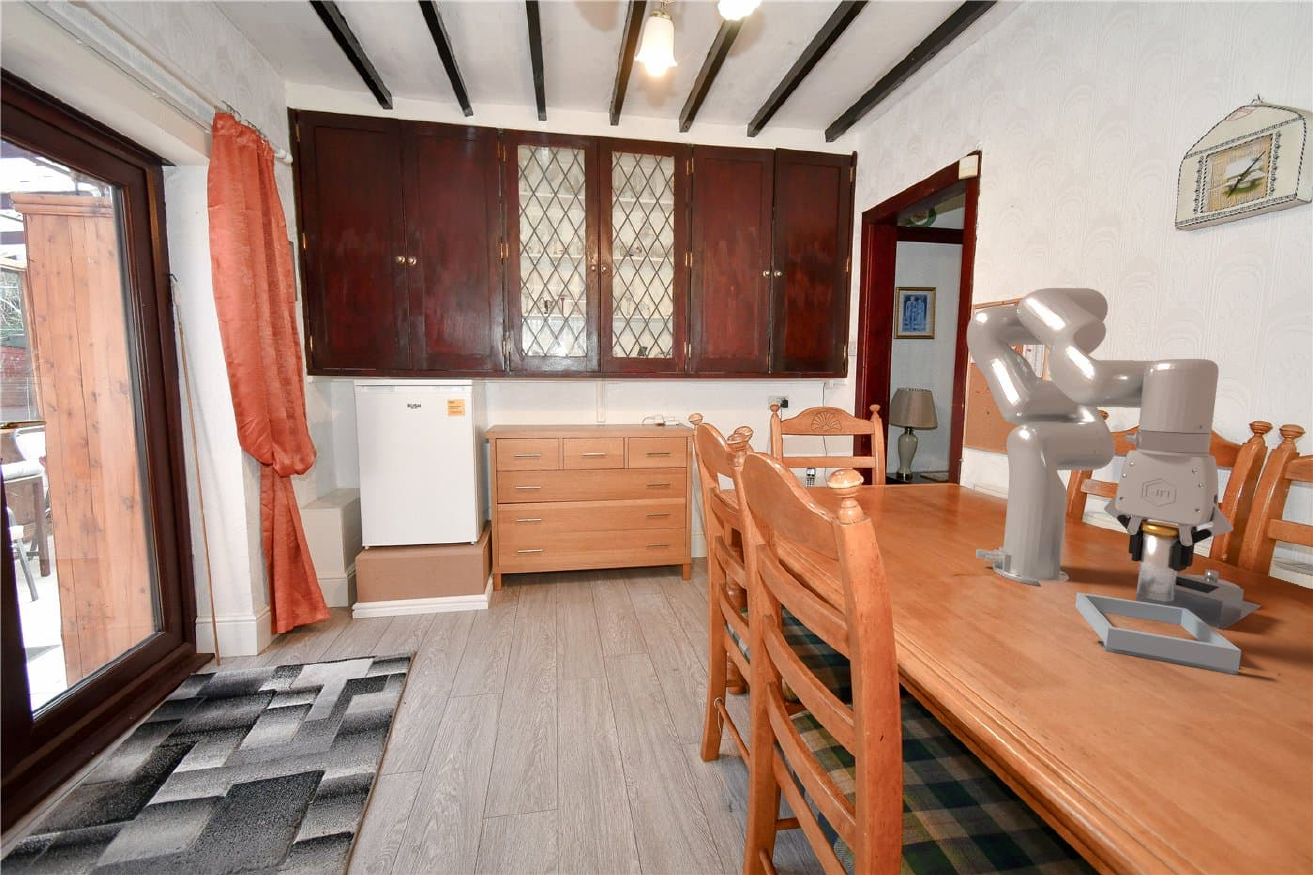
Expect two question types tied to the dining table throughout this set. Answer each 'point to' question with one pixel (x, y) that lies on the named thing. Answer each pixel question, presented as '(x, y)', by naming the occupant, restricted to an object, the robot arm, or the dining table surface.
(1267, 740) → the dining table surface
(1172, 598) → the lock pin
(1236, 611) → the dark grey slotted base
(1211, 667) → the gray square frame
